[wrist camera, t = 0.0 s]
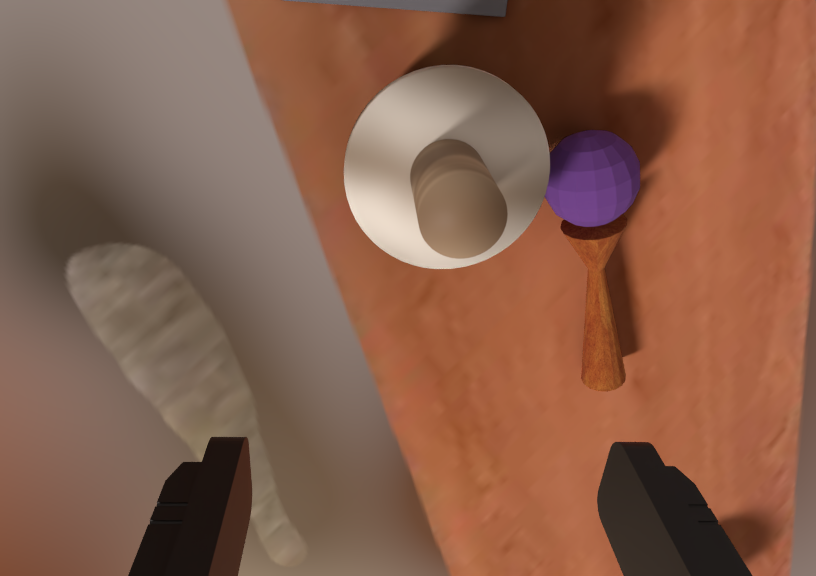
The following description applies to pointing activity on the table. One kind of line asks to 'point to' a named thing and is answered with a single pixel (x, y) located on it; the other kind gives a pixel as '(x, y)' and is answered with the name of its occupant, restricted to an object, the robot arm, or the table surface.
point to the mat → (430, 5)
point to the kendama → (595, 234)
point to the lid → (446, 167)
